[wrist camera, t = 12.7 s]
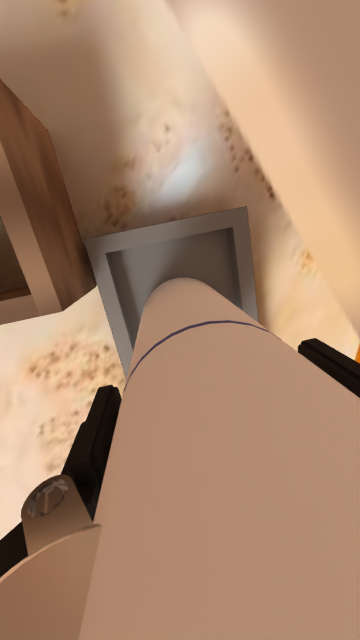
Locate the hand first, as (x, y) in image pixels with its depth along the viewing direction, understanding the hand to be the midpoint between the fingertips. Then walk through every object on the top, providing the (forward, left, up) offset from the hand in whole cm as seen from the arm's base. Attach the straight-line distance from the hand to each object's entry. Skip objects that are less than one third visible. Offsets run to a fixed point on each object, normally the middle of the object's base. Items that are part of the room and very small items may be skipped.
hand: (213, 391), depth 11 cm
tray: (0, 0, -12) cm, 12 cm away
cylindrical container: (0, 0, -11) cm, 11 cm away
